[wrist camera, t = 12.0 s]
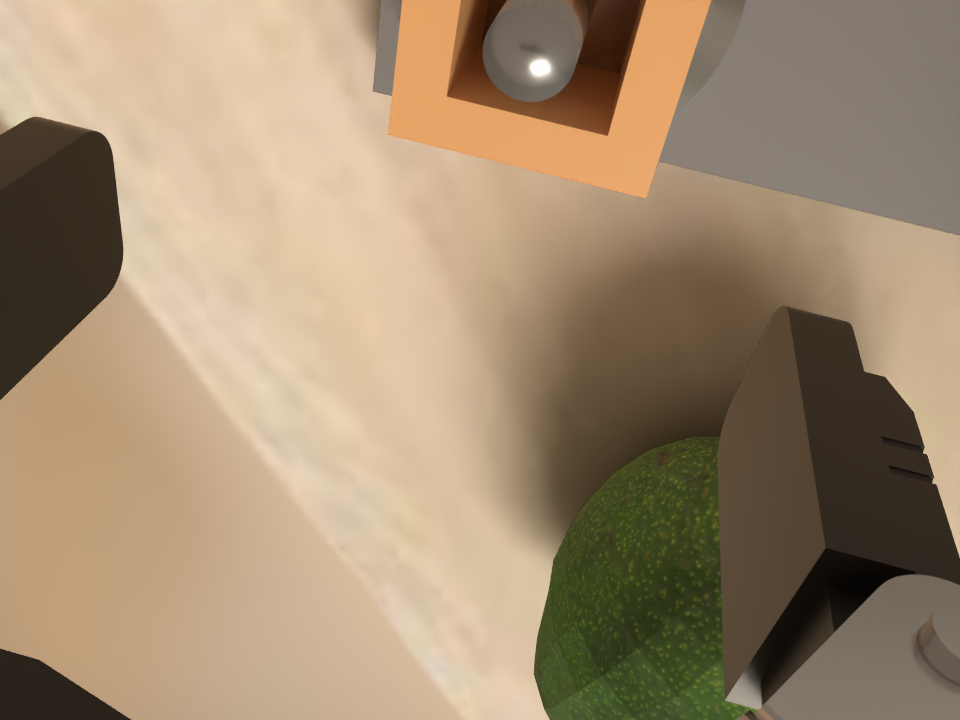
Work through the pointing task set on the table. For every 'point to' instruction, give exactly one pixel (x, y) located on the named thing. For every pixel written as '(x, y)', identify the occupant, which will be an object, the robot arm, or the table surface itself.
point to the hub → (583, 42)
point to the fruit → (640, 597)
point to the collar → (555, 121)
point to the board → (821, 105)
